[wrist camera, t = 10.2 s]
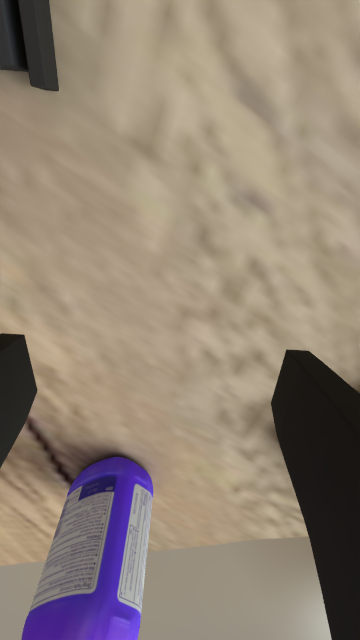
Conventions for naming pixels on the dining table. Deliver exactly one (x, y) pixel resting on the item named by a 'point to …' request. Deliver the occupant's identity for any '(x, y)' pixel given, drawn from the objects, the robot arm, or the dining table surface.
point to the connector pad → (11, 37)
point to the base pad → (39, 43)
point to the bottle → (96, 558)
